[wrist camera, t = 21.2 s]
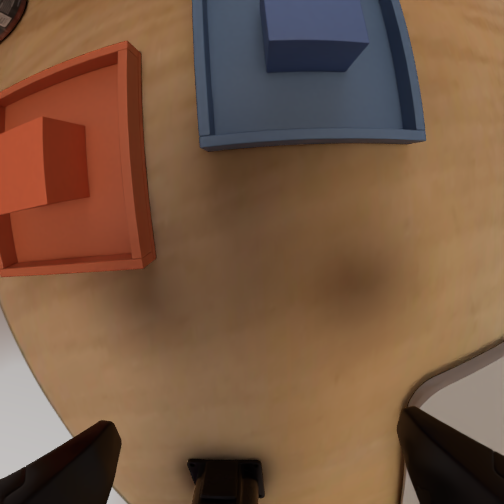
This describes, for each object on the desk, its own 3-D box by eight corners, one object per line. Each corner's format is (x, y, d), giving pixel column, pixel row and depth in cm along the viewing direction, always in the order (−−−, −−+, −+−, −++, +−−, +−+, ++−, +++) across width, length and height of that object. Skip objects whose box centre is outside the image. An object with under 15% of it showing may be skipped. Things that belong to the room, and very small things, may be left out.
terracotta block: (90, 197, 18) (47, 204, 13) (38, 207, 18) (-7, 216, 13) (85, 125, 16) (42, 115, 12) (33, 142, 17) (-12, 139, 12)
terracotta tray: (156, 258, 19) (143, 269, 17) (19, 268, 19) (0, 277, 17) (141, 53, 16) (127, 39, 14) (6, 103, 16) (-14, 99, 14)
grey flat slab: (539, 314, 19) (553, 323, 17) (496, 467, 25) (502, 476, 23) (399, 384, 21) (410, 401, 19) (394, 515, 26) (398, 528, 24)
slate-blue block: (345, 72, 15) (370, 43, 11) (266, 73, 16) (268, 40, 11) (334, 9, 14) (352, -29, 10) (259, 9, 15) (258, -33, 10)
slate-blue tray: (408, 144, 17) (426, 141, 15) (207, 151, 17) (199, 148, 15) (374, -26, 14) (384, -43, 12) (197, -26, 14) (191, -45, 12)
